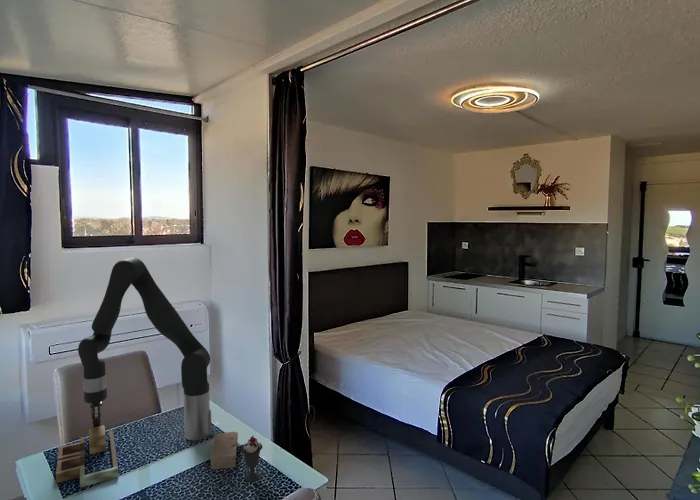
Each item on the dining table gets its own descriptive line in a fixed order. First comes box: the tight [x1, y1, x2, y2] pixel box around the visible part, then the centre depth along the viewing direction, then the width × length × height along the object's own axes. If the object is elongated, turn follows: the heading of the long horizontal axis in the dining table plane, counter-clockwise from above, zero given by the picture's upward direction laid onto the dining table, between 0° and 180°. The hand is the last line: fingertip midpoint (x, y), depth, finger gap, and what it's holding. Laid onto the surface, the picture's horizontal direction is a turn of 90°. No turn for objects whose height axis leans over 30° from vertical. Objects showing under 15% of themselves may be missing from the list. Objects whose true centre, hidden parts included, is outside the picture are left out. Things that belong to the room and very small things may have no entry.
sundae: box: [240, 435, 263, 483], centre depth 138 cm, size 7×7×15 cm
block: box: [88, 425, 107, 455], centre depth 155 cm, size 5×8×6 cm, turn 32°
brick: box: [210, 431, 239, 470], centre depth 151 cm, size 17×8×5 cm, turn 12°
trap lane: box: [55, 430, 119, 488], centre depth 145 cm, size 17×29×3 cm, turn 32°
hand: (97, 431), depth 162 cm, fingers closed
